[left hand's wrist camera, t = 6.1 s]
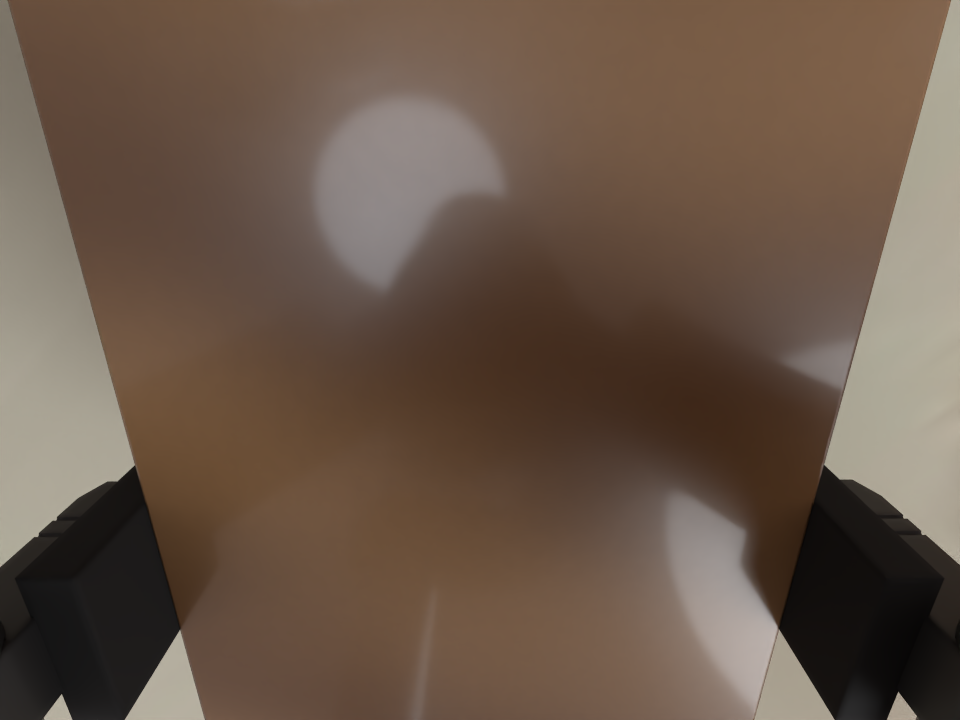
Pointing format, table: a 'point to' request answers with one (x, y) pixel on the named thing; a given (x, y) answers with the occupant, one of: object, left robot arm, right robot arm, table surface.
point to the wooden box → (479, 328)
